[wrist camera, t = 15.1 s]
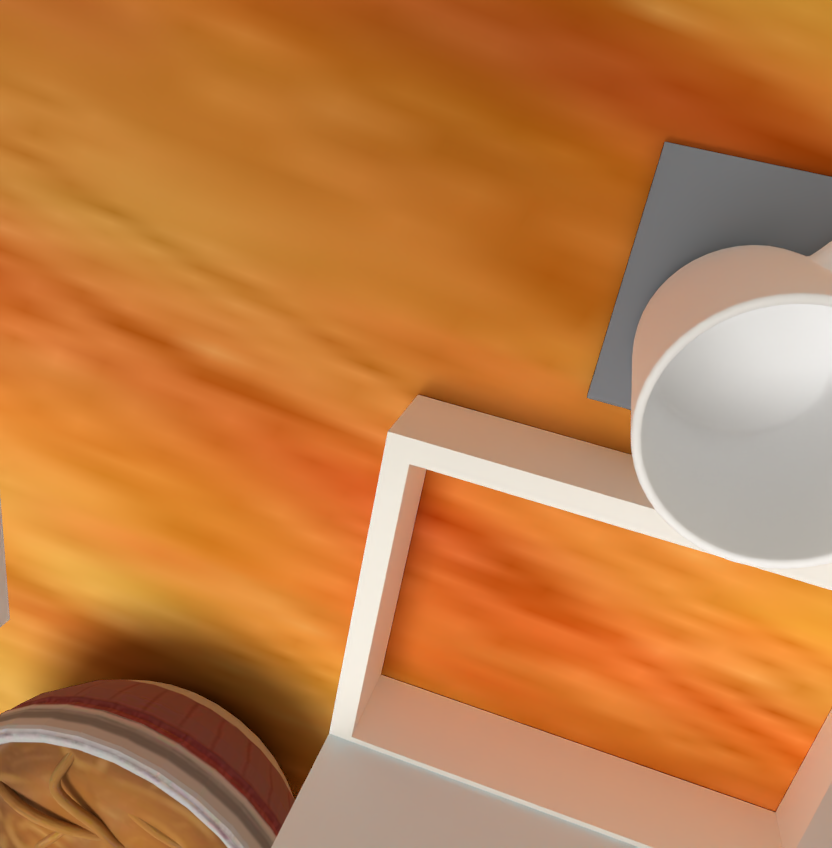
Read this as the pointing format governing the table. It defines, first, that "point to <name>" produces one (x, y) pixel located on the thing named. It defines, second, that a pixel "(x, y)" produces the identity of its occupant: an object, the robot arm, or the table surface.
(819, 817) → the robot arm
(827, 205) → the slate mat
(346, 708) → the cold frame
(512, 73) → the table surface
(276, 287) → the table surface
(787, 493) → the mug
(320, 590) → the table surface
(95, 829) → the bowl
